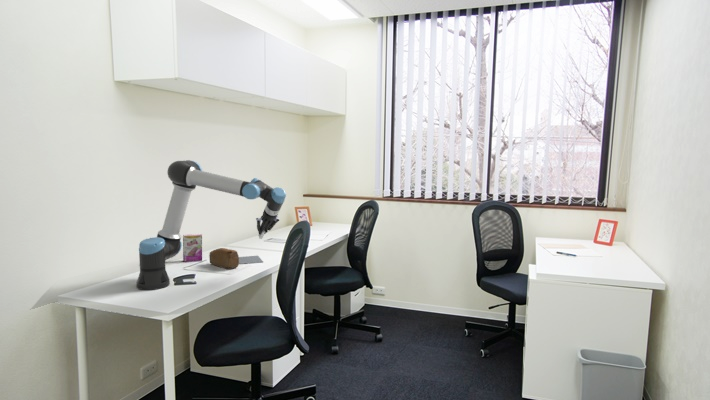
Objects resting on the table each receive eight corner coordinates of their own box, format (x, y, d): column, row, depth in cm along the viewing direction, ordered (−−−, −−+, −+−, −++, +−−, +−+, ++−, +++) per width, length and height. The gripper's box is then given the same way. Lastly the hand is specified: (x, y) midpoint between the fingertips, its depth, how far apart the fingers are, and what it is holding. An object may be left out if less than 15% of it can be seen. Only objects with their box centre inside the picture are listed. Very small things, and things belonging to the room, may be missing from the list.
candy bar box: (183, 262, 266) (182, 235, 265) (183, 260, 271) (182, 234, 269) (202, 260, 271) (202, 234, 269) (202, 259, 275) (201, 233, 274)
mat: (230, 265, 261) (230, 264, 261) (226, 258, 278) (226, 257, 278) (263, 262, 269) (263, 261, 269) (257, 256, 286) (257, 255, 286)
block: (229, 270, 249) (208, 265, 261) (240, 267, 255) (219, 262, 267) (229, 251, 248) (207, 247, 260) (239, 249, 254) (218, 245, 266)
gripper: (261, 217, 225) (250, 243, 240) (285, 215, 232) (272, 241, 248) (257, 206, 229) (247, 232, 244) (280, 204, 236) (269, 230, 251)
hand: (260, 236), depth 246 cm, fingers closed
